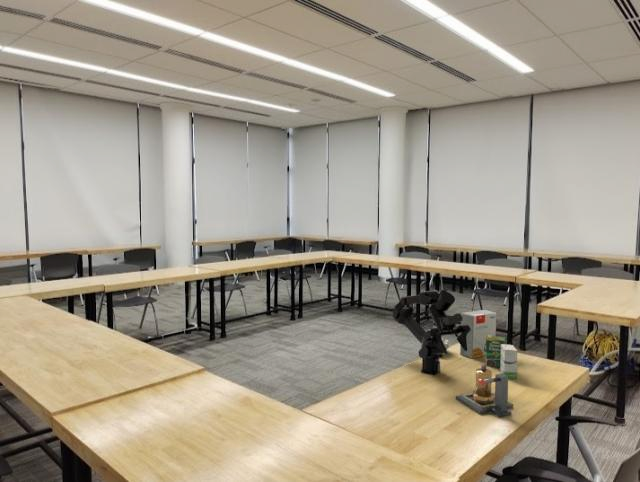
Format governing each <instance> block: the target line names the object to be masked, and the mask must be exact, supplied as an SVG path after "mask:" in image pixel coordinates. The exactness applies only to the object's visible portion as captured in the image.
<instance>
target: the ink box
mask: <svg viewBox="0 0 640 482" xmlns="http://www.w3.org/2000/svg"><path fill="white" fill-rule="evenodd" d="M499 369H500V374H501V373H502V374H505V375H507V376H508V380H509V379H511V380H512V379H513V380H517V378H518V376H517V374H518V350H517V349H516V347H515V346H514V345H513V344H507V343H506V344H501V364H500V367H499Z"/></svg>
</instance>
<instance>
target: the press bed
mask: <svg viewBox="0 0 640 482" xmlns="http://www.w3.org/2000/svg"><path fill="white" fill-rule="evenodd" d="M486 383H492V384H493V383H494V384H495V385H494V393H493V392H491V393H492V394H494V402H493V403H492V404H481V403H478V402H475V401H474V400H473V392H469V393H465V394H458V395H455V400H456V401H458V402H460V403H461V404H463V405H464V406H465V407H467V408H469V409H470V410H472V411H473V412H475V413H477V414H478V415H484V414H485V415H486V414H489V413H491V414H493V415H494V416H495V417H498V418H503V417H510V416H512V411H511V409H513V408H514V404H513V403H511V402H509V400H508V399H509V397H508V396H509V379H508V376H507V375H505V374H502V373H501V372H500V373H495V376H494V378H493V377H492V379H487V380H483V379H479V380H478V384H479V385H480V386H483V385H485V384H486Z"/></svg>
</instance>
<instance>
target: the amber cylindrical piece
mask: <svg viewBox="0 0 640 482" xmlns="http://www.w3.org/2000/svg"><path fill="white" fill-rule="evenodd" d="M492 374H493V371H492V369H491V370H490V369H489V368H487V365H486V364H481V368H479V367H478V368H476V369H475V390H474V391H473V392H472V393H473V400H474V401H475V402H478V403H481V404H492V403H493V402H494V394H495V393H493V392H492V388H493V387H492V384H493V382H492V383H486V384H485V385H483V386H480V385H479V384H478V380H479V379H483V380H487V379H492V378H493V377H492V376H493V375H492ZM492 393H493V394H492Z"/></svg>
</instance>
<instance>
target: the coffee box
mask: <svg viewBox="0 0 640 482" xmlns="http://www.w3.org/2000/svg"><path fill="white" fill-rule="evenodd" d="M501 344H506V345H507V337H506V336H498V335H497V336H490V335H487V336H486V356H485V360H486V362H485V365H486V367H488V366H489V367H495V368H500V364H501Z"/></svg>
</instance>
